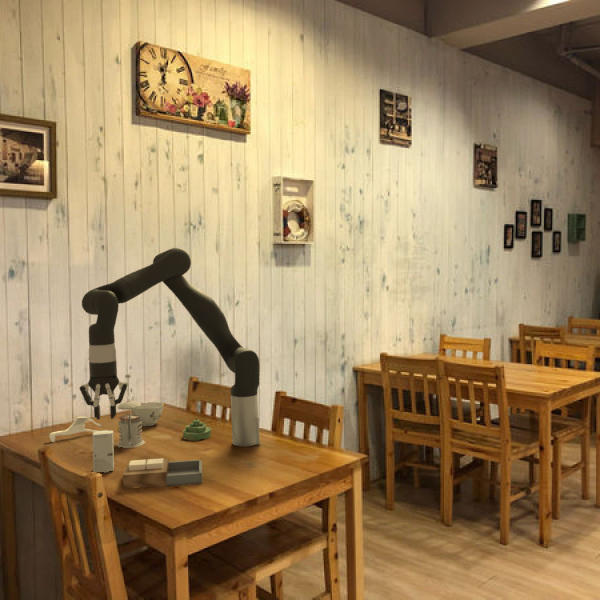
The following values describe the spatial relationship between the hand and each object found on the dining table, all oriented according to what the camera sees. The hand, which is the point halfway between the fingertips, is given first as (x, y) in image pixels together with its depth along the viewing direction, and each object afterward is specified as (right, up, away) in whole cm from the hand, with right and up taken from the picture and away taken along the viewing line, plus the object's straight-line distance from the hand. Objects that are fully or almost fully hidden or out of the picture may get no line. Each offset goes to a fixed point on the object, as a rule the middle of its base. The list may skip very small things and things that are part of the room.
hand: (105, 418), depth 184 cm
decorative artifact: (+19, -16, +48) cm, 54 cm away
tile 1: (+9, -15, +2) cm, 17 cm away
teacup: (-5, -15, +68) cm, 70 cm away
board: (+11, -19, +3) cm, 22 cm away
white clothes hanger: (-26, -17, +52) cm, 61 cm away
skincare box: (-4, -19, +13) cm, 23 cm away
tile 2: (+14, -15, +3) cm, 20 cm away
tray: (+22, -18, +5) cm, 29 cm away
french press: (-3, -17, +40) cm, 44 cm away
